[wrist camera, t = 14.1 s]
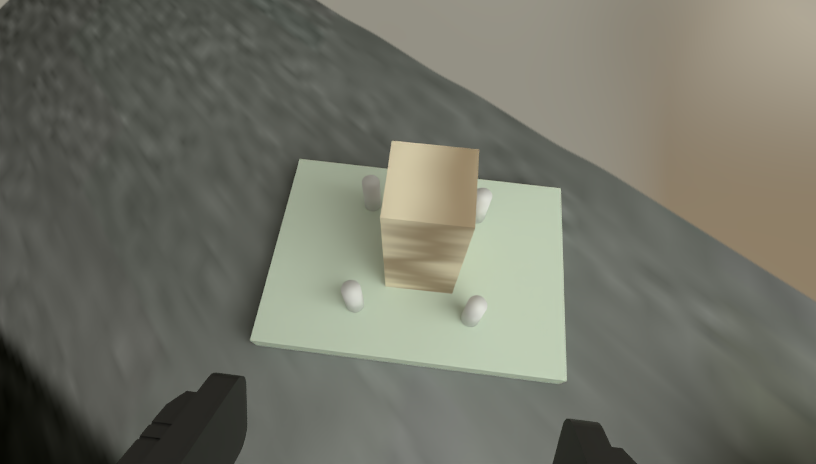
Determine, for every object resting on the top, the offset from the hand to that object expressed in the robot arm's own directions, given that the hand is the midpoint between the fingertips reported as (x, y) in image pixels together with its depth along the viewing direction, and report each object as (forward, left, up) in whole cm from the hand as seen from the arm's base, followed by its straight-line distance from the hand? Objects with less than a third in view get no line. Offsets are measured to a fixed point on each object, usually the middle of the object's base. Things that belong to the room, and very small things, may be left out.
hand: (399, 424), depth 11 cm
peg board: (-4, +11, -18) cm, 21 cm away
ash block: (-4, +11, -17) cm, 20 cm away
